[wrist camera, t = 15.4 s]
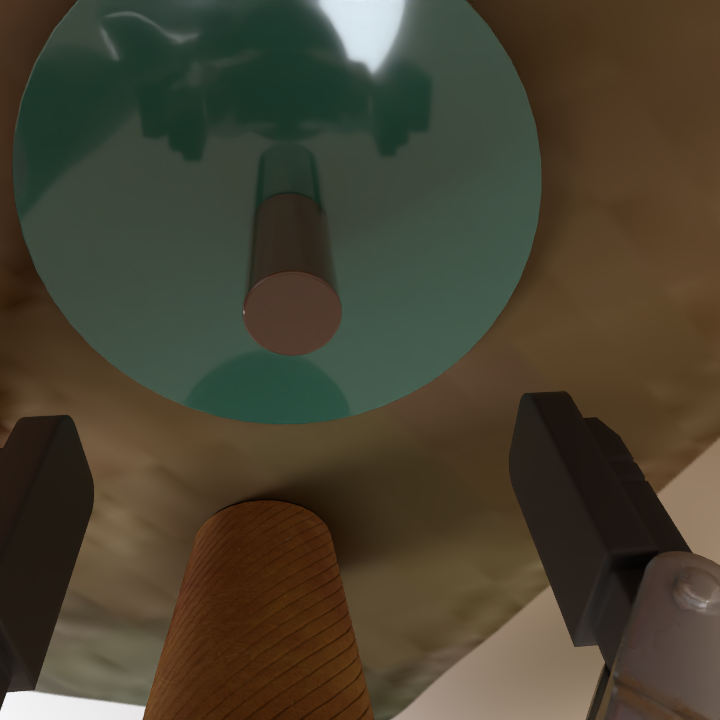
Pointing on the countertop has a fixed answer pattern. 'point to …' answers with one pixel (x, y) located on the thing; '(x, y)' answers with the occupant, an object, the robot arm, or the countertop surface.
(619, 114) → the countertop surface
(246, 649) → the disposable coffee cup
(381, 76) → the lid
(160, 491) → the countertop surface
